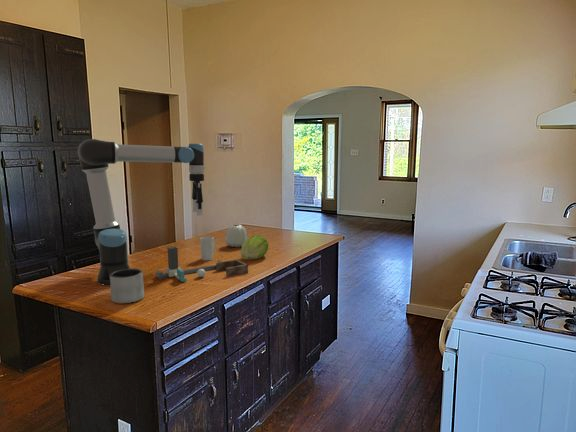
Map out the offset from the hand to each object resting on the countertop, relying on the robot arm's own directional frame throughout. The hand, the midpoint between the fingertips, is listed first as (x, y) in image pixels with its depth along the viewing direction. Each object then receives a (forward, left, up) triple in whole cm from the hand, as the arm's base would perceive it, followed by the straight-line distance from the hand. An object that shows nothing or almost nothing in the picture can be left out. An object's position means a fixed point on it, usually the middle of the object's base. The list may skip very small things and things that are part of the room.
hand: (197, 213), depth 221 cm
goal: (+6, -27, -26) cm, 38 cm away
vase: (+33, +21, -26) cm, 47 cm away
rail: (-11, -17, -26) cm, 33 cm away
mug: (+7, +3, -26) cm, 27 cm away
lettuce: (+27, -11, -26) cm, 39 cm away
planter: (-46, -38, -27) cm, 65 cm away
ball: (-10, -27, -24) cm, 38 cm away
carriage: (-20, -22, -26) cm, 40 cm away
